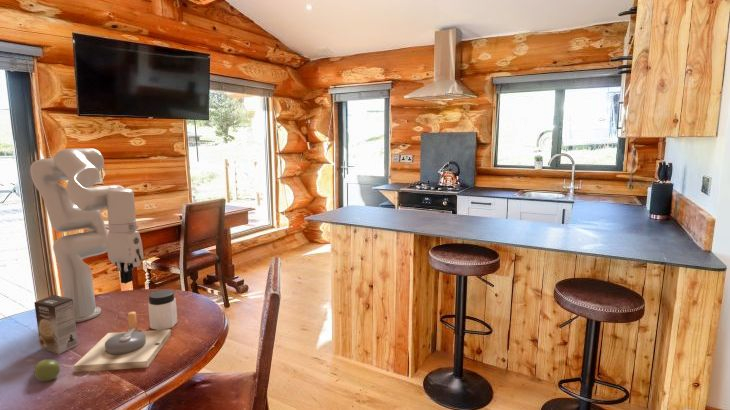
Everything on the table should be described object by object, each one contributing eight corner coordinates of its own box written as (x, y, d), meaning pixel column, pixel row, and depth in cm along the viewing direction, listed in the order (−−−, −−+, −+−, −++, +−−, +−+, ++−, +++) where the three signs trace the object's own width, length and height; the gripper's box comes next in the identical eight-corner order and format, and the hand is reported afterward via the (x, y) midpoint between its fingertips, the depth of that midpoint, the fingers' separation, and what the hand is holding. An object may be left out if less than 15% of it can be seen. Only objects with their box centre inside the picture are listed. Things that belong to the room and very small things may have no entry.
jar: (151, 333, 140) (148, 300, 138) (148, 324, 147) (146, 292, 145) (179, 326, 145) (177, 294, 143) (175, 318, 152) (173, 287, 150)
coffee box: (39, 349, 130) (32, 302, 127) (60, 340, 136) (53, 294, 133) (59, 354, 127) (52, 305, 124) (79, 344, 133) (73, 298, 130)
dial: (140, 352, 124) (138, 329, 123) (99, 356, 121) (97, 334, 120) (152, 330, 138) (150, 309, 137) (116, 333, 135) (114, 313, 134)
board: (74, 372, 117) (73, 364, 117) (108, 338, 137) (108, 332, 136) (147, 367, 119) (146, 360, 119) (171, 334, 139) (170, 328, 139)
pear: (35, 368, 109) (28, 360, 116) (39, 387, 110) (31, 378, 116) (60, 359, 113) (52, 353, 120) (64, 377, 114) (55, 370, 120)
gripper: (151, 227, 131) (154, 280, 134) (113, 222, 134) (117, 275, 138) (133, 232, 124) (137, 289, 127) (93, 227, 127) (98, 283, 131)
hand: (126, 281), depth 132 cm, fingers closed
